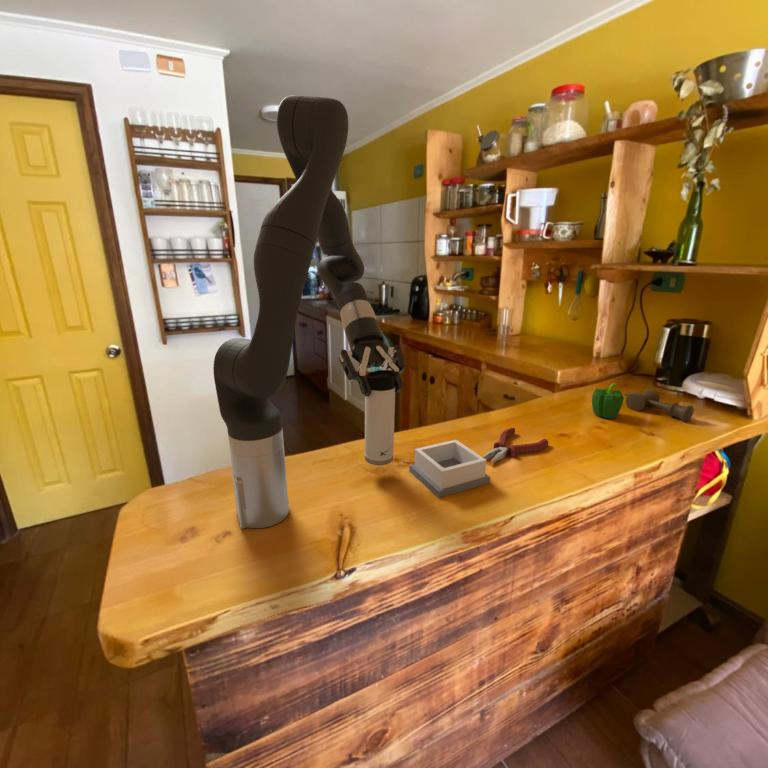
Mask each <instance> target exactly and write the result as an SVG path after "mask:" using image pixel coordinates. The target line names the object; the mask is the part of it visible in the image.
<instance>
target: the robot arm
mask: <svg viewBox="0 0 768 768" xmlns="http://www.w3.org/2000/svg"><path fill="white" fill-rule="evenodd" d="M348 115H349V114H348V111H347V109H346V106H345V104H343V103H342V102H341V101H340V100H338V99H335V98H331V97H322V96H308V95H288V96H285V97H284V98H283V99H282V100H281V101H280V103H279V106H278V108H277V113H276V130H277V135H278V138H279V142H280V144H281V147H282V151H283V153H284V156H285V157H286V159H287V162H288V164H289V167H290V168H291V171H292V173H293V176H294V177H295V180H296V182H295V183H293V185H292V186H291V187H290V188H289V190H287V191H286V192H285V193H284V194H283V195H282V196H281V197H280V199H278V200H277V201H276V203H274V204H273V205H272V207H271V208H270V209H269V210H268V212H267V213H266V214H265V216H264V219H263V220H262V222H261V226H260V230H259V233H258V237H257V240H256V245H255V248H254V253H253V270H254V271H253V272H254V277H255V283H256V288H257V292H258V293H257V294H258V300H259V301H258V302H259V303H258V304H259V305H258V306H259V307H258V315H257V319H256V323H255V326H254V327H255V328H254V331H253V335H252V336H251V337H252V338H251V339H249V338H242V337H236V338H235V337H234V338H230V339H228V340H226V341H225V342H223V343H222V344H221V345H220V346H219V348H217V351H216V352H215V356H214V359H213V379H214V385H215V390H216V396H217V397H216V398H217V403H218V408H219V412H220V416H221V419H222V420H223V422H224V423H225V425H226V431H227V437H228V444H229V445H228V446H229V451H230V452H229V453H230V460H231V477H232V484H233V493H234V500H235V502H234V503H235V509H236V515H237V518H238V522H239V528H240V529H247V528H250V529H265V528H269V527H272V526H275V525H277V524H279V523H281V522H282V521H284V519H286V518H287V516H288V515H289V513H290V505H289V504H290V503H289V493H288V480H287V468H286V467H287V465H286V455H285V443H284V431H283V418H282V417H283V416H282V414H281V412H280V410H279V409H278V408H277V407H276V406H275V405H274V404H273V403H272V402H271V401H270V399H271V398H272V397H273V396H276V394H277V393H278V392H279V391H280V390H281V389H282V387H283V385H284V383H285V380H286V377H287V375H288V372H289V367H290V361H291V357H292V349H293V341H294V336H295V331H296V323H297V319H298V314H299V310H300V305H301V301H302V296H303V293H304V288H305V285H306V284H305V283H306V280H307V277H308V273H309V271H310V267H311V264H312V260H313V256H314V254H315V253H314V252H315V248H316V244H317V239H318V243H319V248H320V249H321V251H322V252H323V253H324V254H325V255H327V256H326V257H324V258H321V260H320V261H319V263H318V275H319V277H320V279H321V281H322V282H323V284H324V285H325V286H326V287H325V288H327V289H328V290H329V292H330V293H331V295H332V296H333V298H334V300H335V302H336V305H337V309H338V311H339V314H340V321H341V323H342V328H343V331H344V333H345V336H346V339H347V343H348V345H349V348H350V350H346V349H341V352H340V353H339V356H338V360H339V363H340V365H341V367H342V369H343V372H344V374H345V376H346V379H347V380H348V381H352V380H354V381H357V384H358V386H359V389H360V393H361V394H362V395H364V398H365V397H368V396H370V394H371V388H370V385H369V382H368V379H367V376H366V371H367V369H371V368H380V370H391V371H397V376H396V377H395V393H400V391H402V389H403V386H404V383H403V381H402V377H401V374H402V373H403V371H404V370H405V369H406V363H405V359H404V355H403V351H402V347H401V346H400V345H399V344H395V345H394V347H393V346H388V345H387V344H386V343H385V340H384V335H383V333H382V329H381V327H380V324H379V322H378V319H377V317H376V313H375V311H374V309H373V307H372V305H371V303H370V300H369V298H368V295H367V292H366V290H365V287H364V286H363V285H362V284H361V283H359V282H358V281H360V280H361V279H362V277H363V276H364V274H365V265H364V261H363V259H362V258H361V256H360V254H359V253H358V251H357V249H356V248H355V245H354V243H353V240H352V236H351V231H350V226H349V225H350V224H349V221H348V216H347V211H346V209H345V207H344V206H343V204H342V202H341V201H340V199H339V197H338V196H337V195H336V194H335V192H334V191H333V190H332V187H333V184H334V181H335V179H336V175H337V172H338V170H339V167H340V164H341V161H342V159H343V156H344V154H345V149H346V147H347V146H346V145H347V140H348V134H349V116H348ZM356 281H357V282H356ZM389 355H390V356H389ZM352 359H353V360H354V361H356V362H357V363H358V365H357V366H358V367H357V370H356V369H355V367H354V364H353V362H352Z"/></svg>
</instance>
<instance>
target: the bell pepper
mask: <svg viewBox="0 0 768 768" xmlns="http://www.w3.org/2000/svg"><path fill="white" fill-rule="evenodd" d="M616 386H618V384H617V383H615V382H613V383H611V384H610V385H609V386H608V387H607V388H603V389H602V388H595V389H594V391H593V394H592V397H591V398H592V399H591V407H592V413H594V415H595V416H596V417H603V418H605V419H611V420H613V419H615V418H617V417H618V415H619V413H620V411H621V409H622V407H623V403H624V394H623V393H622V392H621V390H619V389H615V390H613V388H614V387H616Z"/></svg>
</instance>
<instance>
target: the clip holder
mask: <svg viewBox="0 0 768 768" xmlns="http://www.w3.org/2000/svg"><path fill="white" fill-rule="evenodd" d="M408 467H409V468H408V469H409V470H408V471H409V473H411V474H412V476H414V477H415V478H416V479H417V480H419V482H421V483H422V485H424V487H426V488H427V489H428V490H429V491H430V492H431V493H432V494H433V495H434V496H436V498H438V499H440V498H444V497H446V496H450V495H454V494H457V493H461V492H465V491H467V490H471V489H475V488H479V487H482V486H484V485H488V484H491V476H490V475H488V474H487V473H486V470H487V469H486V468H487V459H484V458H483V456H481V455H480V454H478V453H477V452H475V451H473V450H472V449H471V448H470V447H468V446H466V445H464V444H463V443H462V442H460V441H459V440H458V439H454V440H447V441H444V442H439V443H435V444H430V445H426V446H423V447H418V448H415V449H414V462H413V464H409V466H408Z"/></svg>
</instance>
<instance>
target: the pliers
mask: <svg viewBox="0 0 768 768" xmlns="http://www.w3.org/2000/svg"><path fill="white" fill-rule="evenodd" d="M515 433H516V428H514V427H510V428H507V429H504V430H503V431H502V432H501V434H500V436H499V440H498V441H495V442H494V444H493V448H492V449H490V450H489V451H487V453H485V454H484V455H483V456H482V457H483V458H484V459H486V460H487V459H491V461H490V462H489V463H490V464H493V463H495V462H498V461H500V460H503V459H504V458H505V456H508V457H509V456H510V457H511V458H515V456H516V455H522V454H533V453H539V452H542V451H543V450H545V449H546V448H547V447H548V446H549V440H548V439H546V438H543V439H541V440H540V441H537V442H532V443H523V444H522V443H521V444H512V445H511V444H510V445H509V444H508V445H505V443H506V440H507V439H508V438H509V436H510V437H512V436H513V434H514V435H515ZM511 435H512V436H511ZM507 437H508V438H507ZM505 439H506V440H505ZM515 454H516V455H515Z"/></svg>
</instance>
